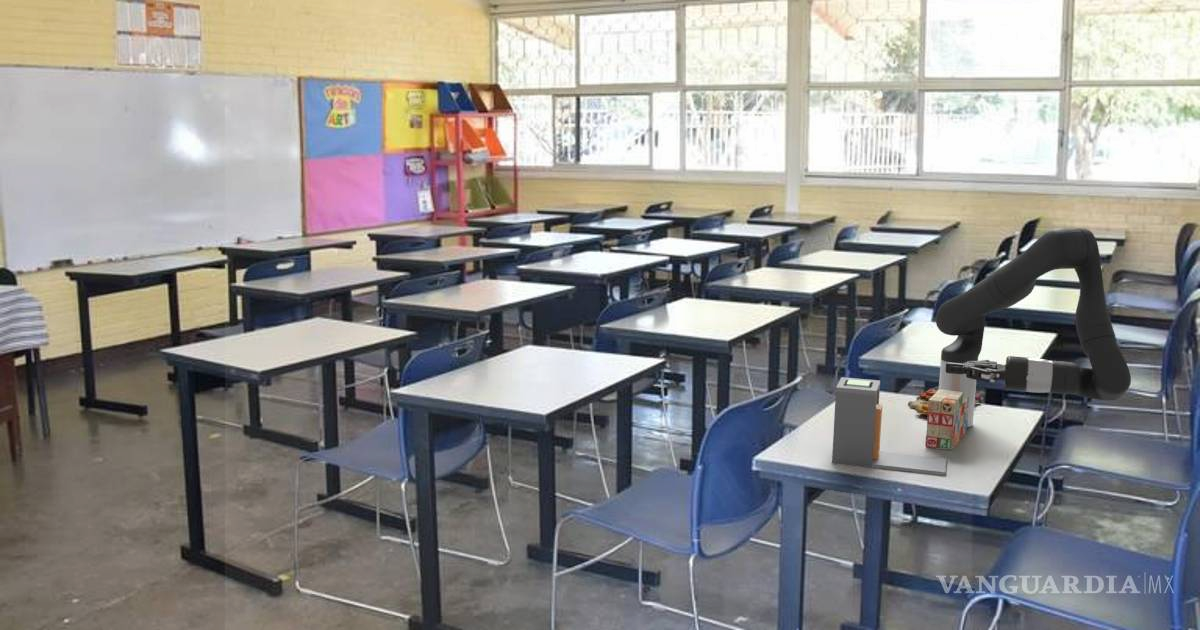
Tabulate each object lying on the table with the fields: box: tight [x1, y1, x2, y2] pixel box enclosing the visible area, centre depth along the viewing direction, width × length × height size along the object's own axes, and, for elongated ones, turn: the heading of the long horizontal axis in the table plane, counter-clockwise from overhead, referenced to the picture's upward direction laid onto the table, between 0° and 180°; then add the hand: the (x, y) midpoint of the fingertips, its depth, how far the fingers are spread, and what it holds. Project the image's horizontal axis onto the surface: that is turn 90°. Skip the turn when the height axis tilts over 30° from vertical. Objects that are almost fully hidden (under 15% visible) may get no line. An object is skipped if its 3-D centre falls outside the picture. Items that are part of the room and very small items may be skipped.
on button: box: [846, 379, 871, 388], centre depth 240 cm, size 5×5×5 cm
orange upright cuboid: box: [873, 403, 883, 460], centre depth 241 cm, size 4×8×12 cm, turn 71°
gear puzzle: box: [907, 386, 984, 416], centre depth 291 cm, size 31×16×4 cm, turn 144°
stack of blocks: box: [925, 389, 969, 452], centre depth 260 cm, size 21×6×12 cm, turn 151°
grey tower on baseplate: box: [831, 376, 947, 476], centre depth 239 cm, size 11×25×18 cm, turn 71°
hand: (945, 367), depth 233 cm, fingers closed
